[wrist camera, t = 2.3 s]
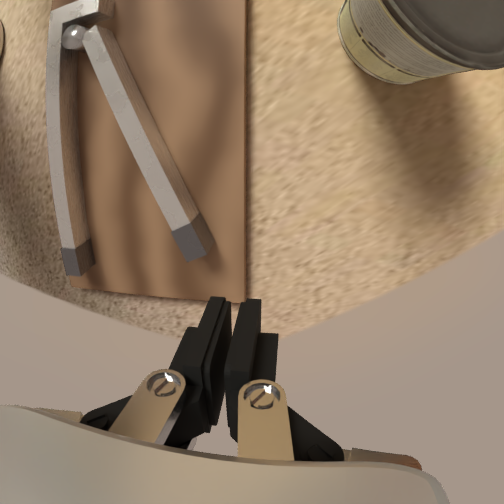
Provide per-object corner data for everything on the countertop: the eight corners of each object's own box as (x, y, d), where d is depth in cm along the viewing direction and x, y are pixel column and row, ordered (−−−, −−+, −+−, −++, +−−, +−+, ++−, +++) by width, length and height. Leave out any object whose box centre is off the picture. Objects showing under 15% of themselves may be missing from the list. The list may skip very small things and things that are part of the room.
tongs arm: (77, 39, 23) (58, 35, 20) (106, 17, 22) (89, 10, 19) (180, 254, 31) (170, 269, 28) (215, 240, 30) (207, 254, 27)
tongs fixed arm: (66, 16, 22) (48, 11, 19) (115, 1, 22) (98, -8, 19) (81, 262, 33) (66, 275, 30) (126, 265, 33) (112, 280, 30)
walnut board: (78, 281, 36) (71, 286, 35) (60, 3, 23) (52, 0, 21) (246, 295, 34) (244, 303, 33) (247, -38, 21) (245, -45, 19)
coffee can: (342, -26, 20) (375, -107, 7) (443, 9, 20) (524, -34, 7) (327, 67, 24) (362, 25, 12) (432, 100, 24) (526, 99, 11)
